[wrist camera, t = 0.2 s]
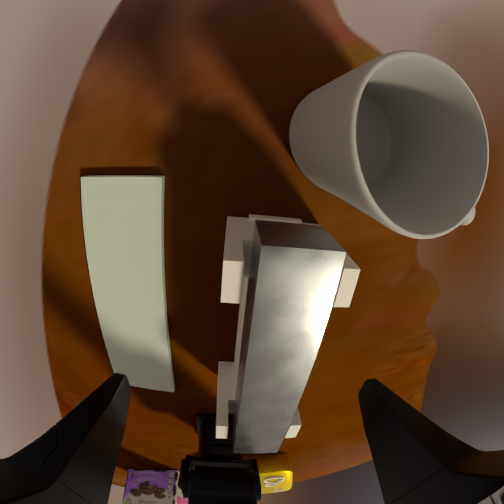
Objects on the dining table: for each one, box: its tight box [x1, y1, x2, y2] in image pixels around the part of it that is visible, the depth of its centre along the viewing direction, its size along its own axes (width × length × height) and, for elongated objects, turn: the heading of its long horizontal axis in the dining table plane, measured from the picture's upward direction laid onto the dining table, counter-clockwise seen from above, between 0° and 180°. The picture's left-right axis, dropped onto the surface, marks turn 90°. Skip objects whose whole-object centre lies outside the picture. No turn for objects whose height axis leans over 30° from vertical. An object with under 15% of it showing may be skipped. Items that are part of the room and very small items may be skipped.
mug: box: [289, 50, 489, 239], centre depth 14 cm, size 12×8×11 cm
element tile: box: [243, 453, 293, 494], centre depth 37 cm, size 15×15×5 cm
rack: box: [216, 214, 360, 439], centre depth 20 cm, size 18×7×8 cm, turn 174°
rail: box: [233, 220, 346, 453], centre depth 18 cm, size 20×4×4 cm, turn 174°
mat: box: [81, 175, 175, 392], centre depth 23 cm, size 23×7×1 cm, turn 174°
